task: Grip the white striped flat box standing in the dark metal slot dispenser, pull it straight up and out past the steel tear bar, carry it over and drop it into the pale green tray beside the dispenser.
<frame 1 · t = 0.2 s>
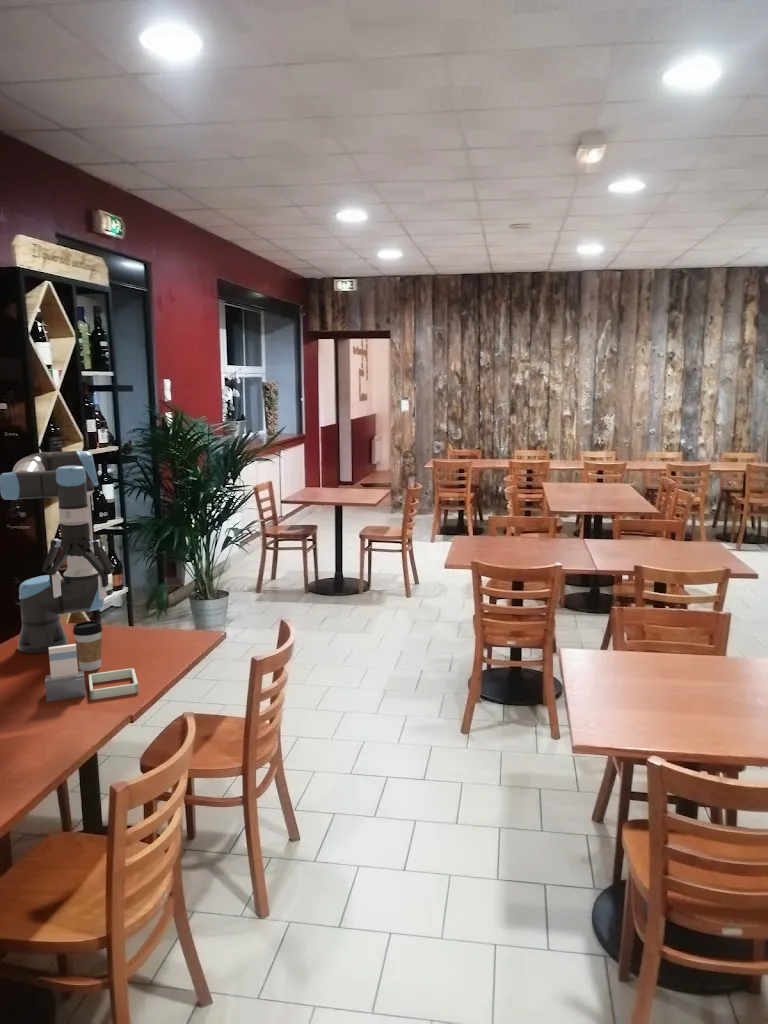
hand: (80, 597, 218), 28 cm above the table, fingers open, 13 cm apart
tray: (113, 690, 223), on the table
white striped flat box: (66, 694, 218), point 1 cm above the table, touching dispenser
coffee cup: (90, 670, 239), on the table
dispenser: (66, 697, 218), on the table
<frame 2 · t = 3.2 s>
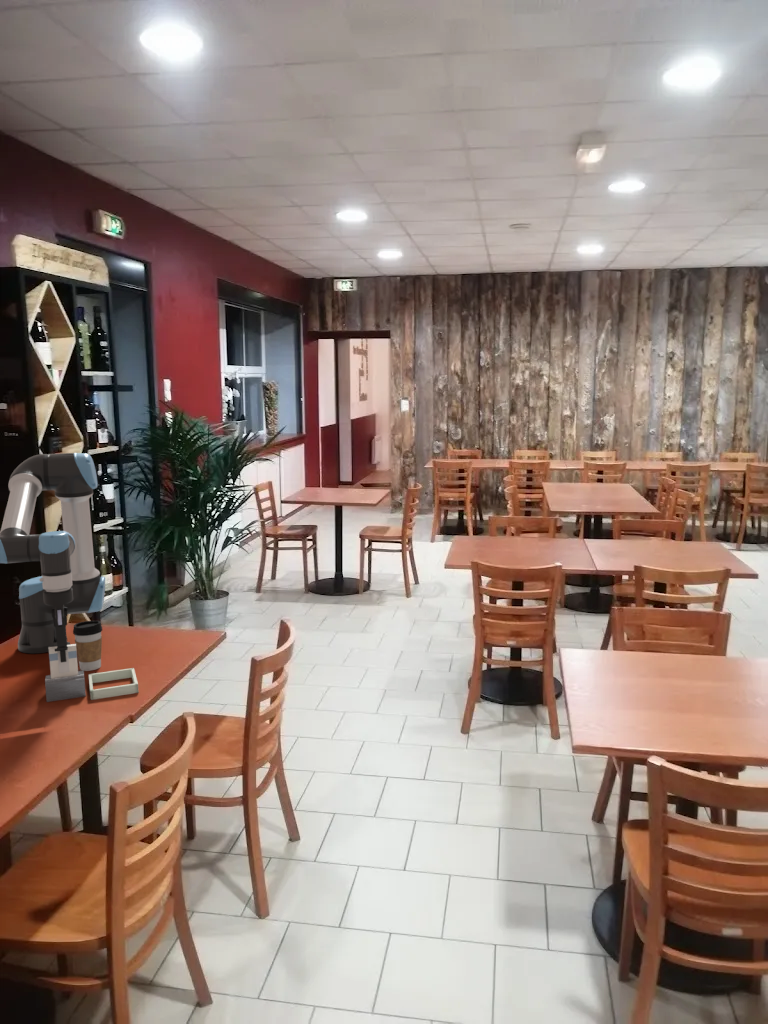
hand: (64, 670, 217), 8 cm above the table, fingers closed on white striped flat box, 2 cm apart
white striped flat box: (66, 694, 218), point 1 cm above the table, touching dispenser, gripper
everything else where it was.
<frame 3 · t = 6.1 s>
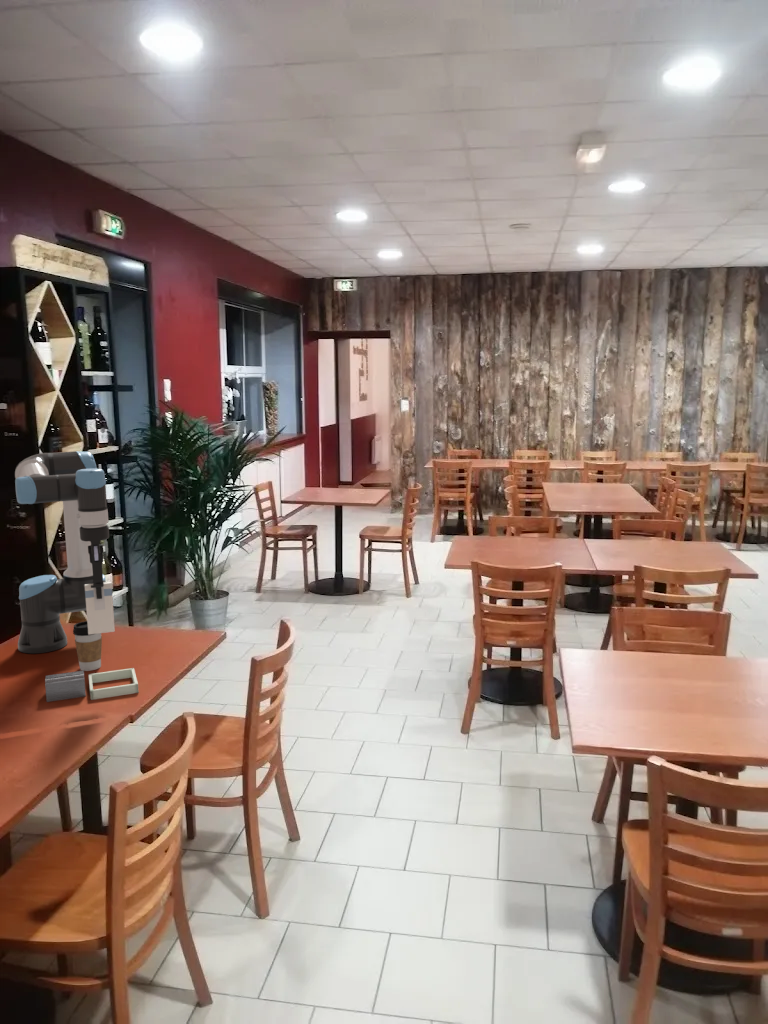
hand: (100, 608, 218), 25 cm above the table, fingers closed on white striped flat box, 2 cm apart
white striped flat box: (101, 632, 219), point 18 cm above the table, touching gripper
everything else where it was.
when the fingers open (9 cm above the table, at t = 8.8 s): white striped flat box drops 2 cm, resting on tray.
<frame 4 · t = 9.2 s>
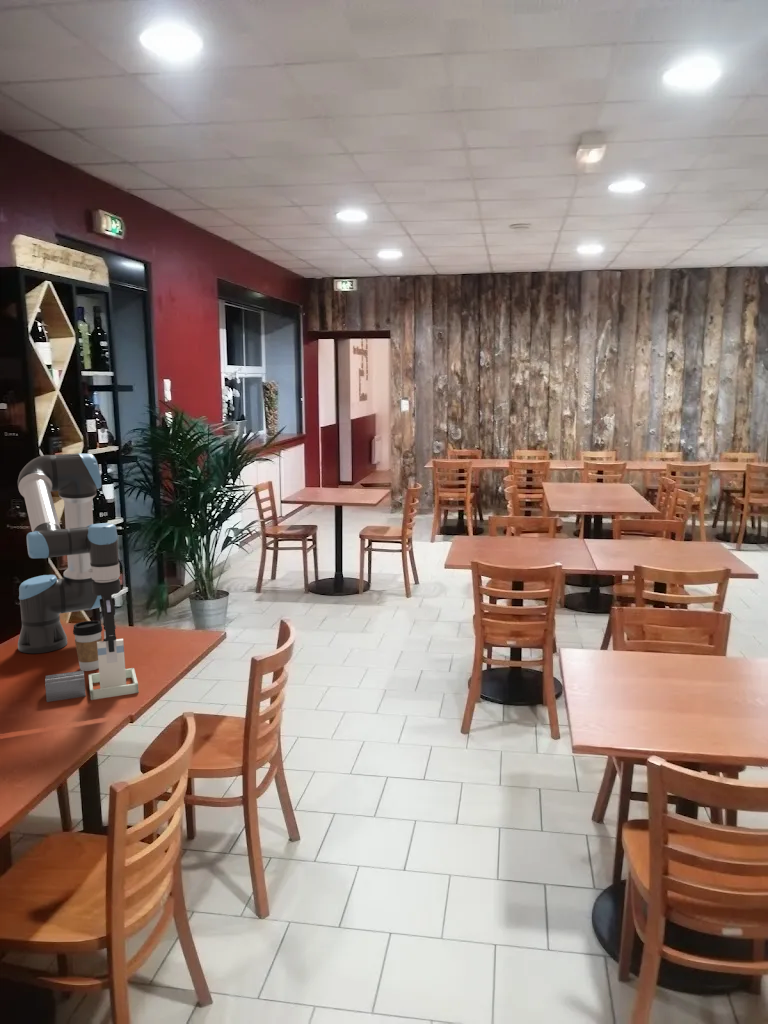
hand: (111, 657, 221), 10 cm above the table, fingers open, 8 cm apart
white striped flat box: (113, 688, 223), point 1 cm above the table, touching tray
everything else where it was.
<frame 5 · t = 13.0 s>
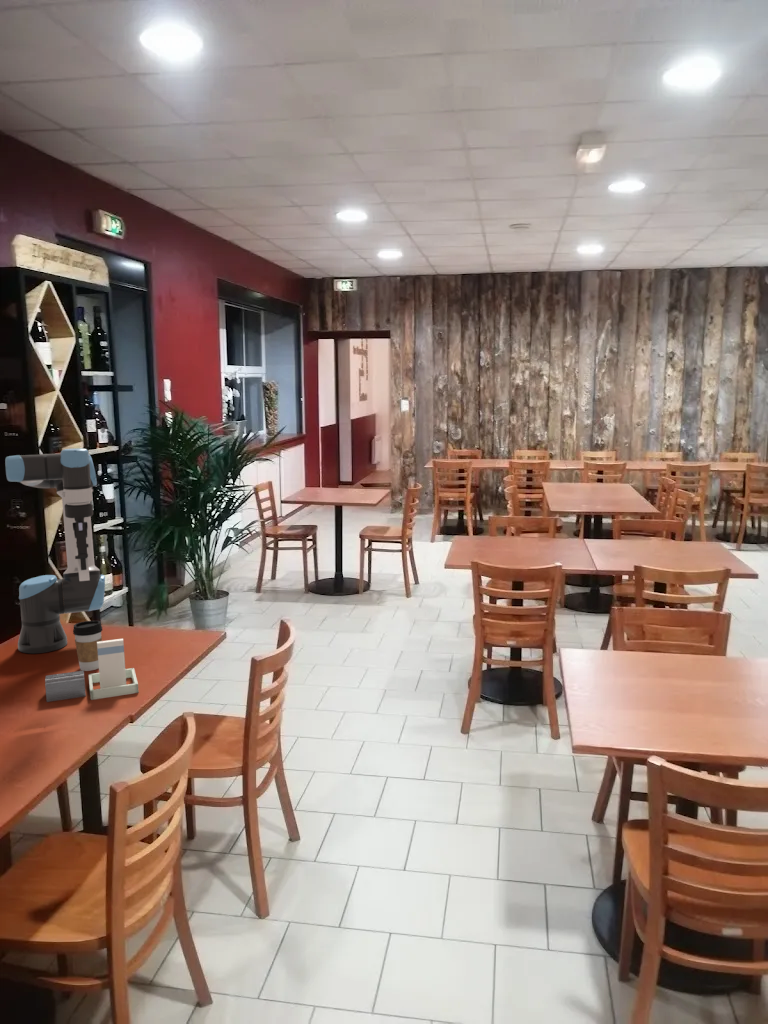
hand: (83, 575, 226), 32 cm above the table, fingers open, 13 cm apart
nothing on the table moved.
at the end: white striped flat box inside the target area on the tray (0.0 cm from its centre), point 0.8 cm above the tray's base; white striped flat box touching tray; the gripper is holding nothing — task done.
